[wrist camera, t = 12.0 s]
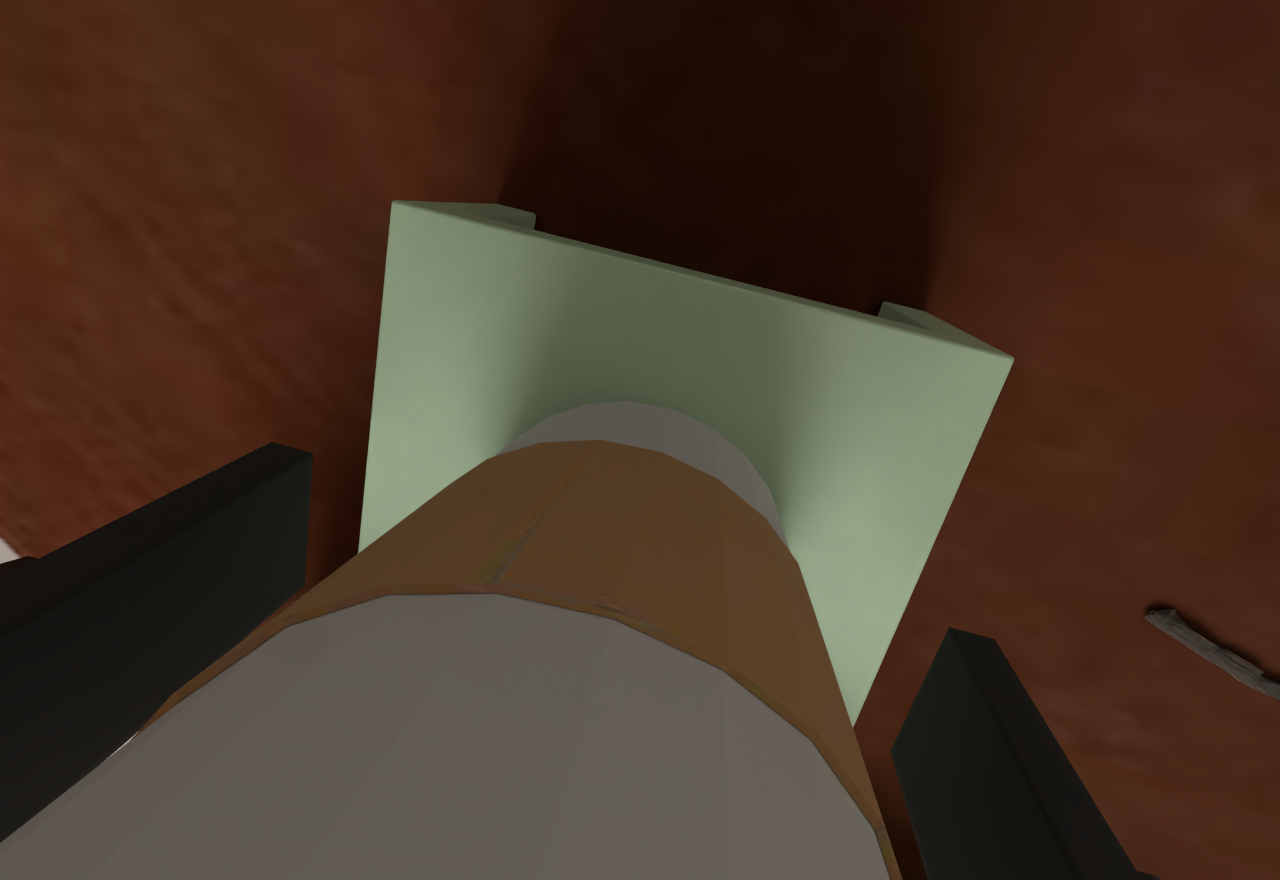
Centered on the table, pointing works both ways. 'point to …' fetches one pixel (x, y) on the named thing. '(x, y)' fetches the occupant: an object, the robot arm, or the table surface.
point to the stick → (1213, 652)
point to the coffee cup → (511, 696)
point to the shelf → (681, 394)
